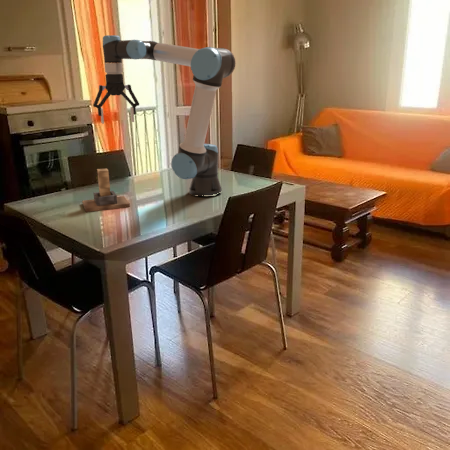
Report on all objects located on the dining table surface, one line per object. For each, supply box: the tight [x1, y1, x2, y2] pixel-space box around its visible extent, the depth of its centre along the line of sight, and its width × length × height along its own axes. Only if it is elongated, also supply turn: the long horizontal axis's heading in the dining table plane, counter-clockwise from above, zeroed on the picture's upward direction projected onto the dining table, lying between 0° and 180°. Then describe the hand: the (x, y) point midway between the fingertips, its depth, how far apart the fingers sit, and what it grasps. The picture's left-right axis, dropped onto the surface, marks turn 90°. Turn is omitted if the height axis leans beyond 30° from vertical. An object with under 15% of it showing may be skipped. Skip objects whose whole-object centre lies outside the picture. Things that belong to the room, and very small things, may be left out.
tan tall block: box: [96, 168, 111, 197], centre depth 192 cm, size 4×4×14 cm
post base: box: [81, 190, 131, 213], centre depth 194 cm, size 18×12×5 cm, turn 113°
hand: (117, 122), depth 208 cm, fingers open, 13 cm apart
